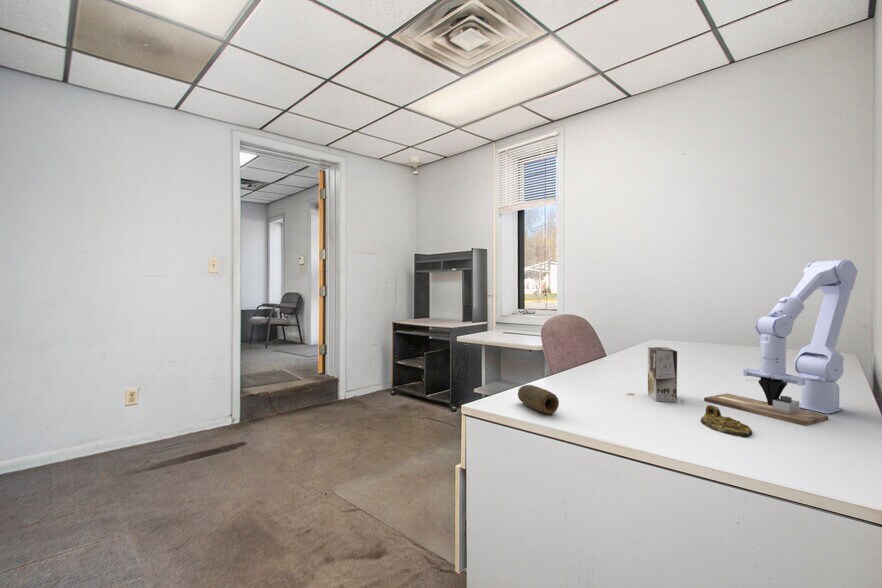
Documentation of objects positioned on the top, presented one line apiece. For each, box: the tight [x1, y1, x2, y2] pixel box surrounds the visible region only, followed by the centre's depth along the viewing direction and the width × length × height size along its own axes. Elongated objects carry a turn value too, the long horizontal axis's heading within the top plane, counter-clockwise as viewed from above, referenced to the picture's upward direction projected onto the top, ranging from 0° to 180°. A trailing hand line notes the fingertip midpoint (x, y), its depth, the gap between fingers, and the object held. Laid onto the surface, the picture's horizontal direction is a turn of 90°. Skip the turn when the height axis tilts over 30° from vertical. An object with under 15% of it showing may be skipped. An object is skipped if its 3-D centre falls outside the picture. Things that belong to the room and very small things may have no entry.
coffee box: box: [647, 346, 678, 403], centre depth 133 cm, size 9×6×16 cm
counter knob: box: [773, 395, 800, 414], centre depth 115 cm, size 5×4×4 cm
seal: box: [700, 404, 753, 438], centre depth 106 cm, size 9×5×15 cm
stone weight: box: [517, 384, 560, 415], centre depth 122 cm, size 15×7×7 cm, turn 22°
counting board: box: [703, 393, 829, 426], centre depth 120 cm, size 12×26×1 cm, turn 25°
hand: (772, 405), depth 118 cm, fingers closed
